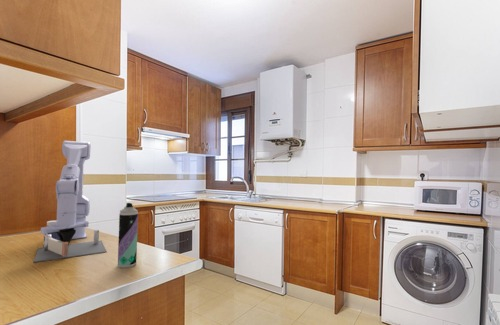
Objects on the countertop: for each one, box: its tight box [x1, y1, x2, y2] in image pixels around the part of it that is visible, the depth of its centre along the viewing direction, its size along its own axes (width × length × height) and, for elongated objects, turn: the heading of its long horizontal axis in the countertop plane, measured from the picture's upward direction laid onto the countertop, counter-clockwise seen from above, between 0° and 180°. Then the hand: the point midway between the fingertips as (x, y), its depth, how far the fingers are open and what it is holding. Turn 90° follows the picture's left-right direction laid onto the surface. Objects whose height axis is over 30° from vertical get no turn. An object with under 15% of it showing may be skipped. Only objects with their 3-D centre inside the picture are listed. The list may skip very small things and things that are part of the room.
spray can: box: [117, 202, 139, 269], centre depth 85 cm, size 6×6×20 cm
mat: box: [32, 240, 108, 264], centre depth 98 cm, size 18×21×1 cm
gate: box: [48, 238, 69, 257], centre depth 93 cm, size 13×1×5 cm, turn 58°
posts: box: [43, 229, 100, 251], centre depth 101 cm, size 2×17×6 cm, turn 125°
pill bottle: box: [43, 219, 61, 247], centre depth 104 cm, size 5×5×10 cm
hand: (65, 250), depth 93 cm, fingers closed
